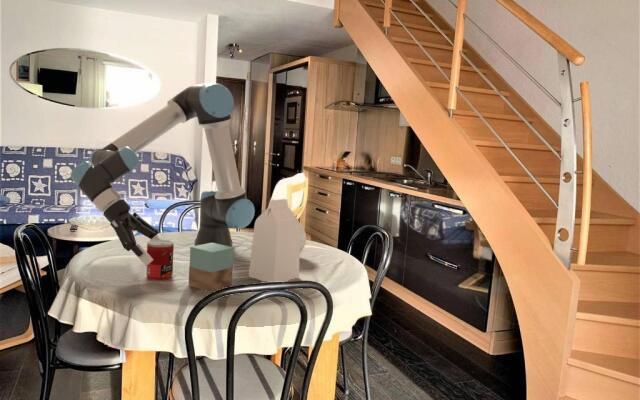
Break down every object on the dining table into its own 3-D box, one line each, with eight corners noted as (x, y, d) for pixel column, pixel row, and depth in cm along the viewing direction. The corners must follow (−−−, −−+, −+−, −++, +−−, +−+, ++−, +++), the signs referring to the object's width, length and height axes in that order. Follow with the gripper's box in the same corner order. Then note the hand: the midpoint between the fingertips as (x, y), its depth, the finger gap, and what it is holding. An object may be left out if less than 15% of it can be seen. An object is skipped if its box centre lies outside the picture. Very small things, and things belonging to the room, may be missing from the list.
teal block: (211, 261, 151) (212, 242, 150) (232, 266, 146) (233, 247, 146) (189, 266, 144) (190, 246, 143) (211, 272, 139) (212, 252, 138)
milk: (274, 270, 168) (278, 196, 164) (299, 278, 160) (304, 200, 157) (248, 276, 158) (252, 197, 155) (273, 284, 151) (278, 202, 148)
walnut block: (210, 279, 152) (211, 261, 151) (231, 286, 147) (232, 266, 147) (188, 285, 144) (189, 266, 144) (210, 292, 140) (211, 272, 139)
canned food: (164, 281, 146) (166, 246, 145) (141, 278, 148) (142, 243, 147) (177, 275, 154) (178, 241, 153) (154, 272, 155) (155, 238, 154)
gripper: (122, 208, 161) (165, 256, 163) (82, 220, 137) (132, 276, 138) (138, 194, 161) (181, 241, 162) (100, 203, 136) (151, 259, 137)
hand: (158, 257), depth 150 cm, fingers open, 13 cm apart
